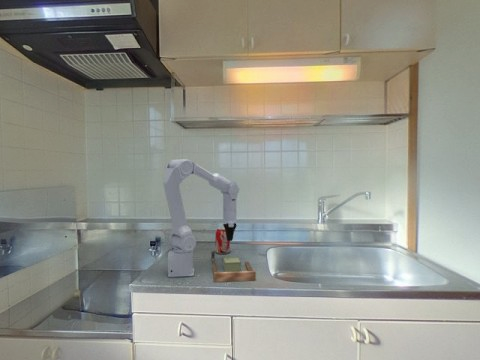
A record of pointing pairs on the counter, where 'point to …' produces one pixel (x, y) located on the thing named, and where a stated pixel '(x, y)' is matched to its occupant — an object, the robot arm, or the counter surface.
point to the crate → (231, 264)
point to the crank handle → (213, 256)
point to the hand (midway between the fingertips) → (229, 240)
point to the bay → (234, 274)
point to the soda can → (221, 241)
